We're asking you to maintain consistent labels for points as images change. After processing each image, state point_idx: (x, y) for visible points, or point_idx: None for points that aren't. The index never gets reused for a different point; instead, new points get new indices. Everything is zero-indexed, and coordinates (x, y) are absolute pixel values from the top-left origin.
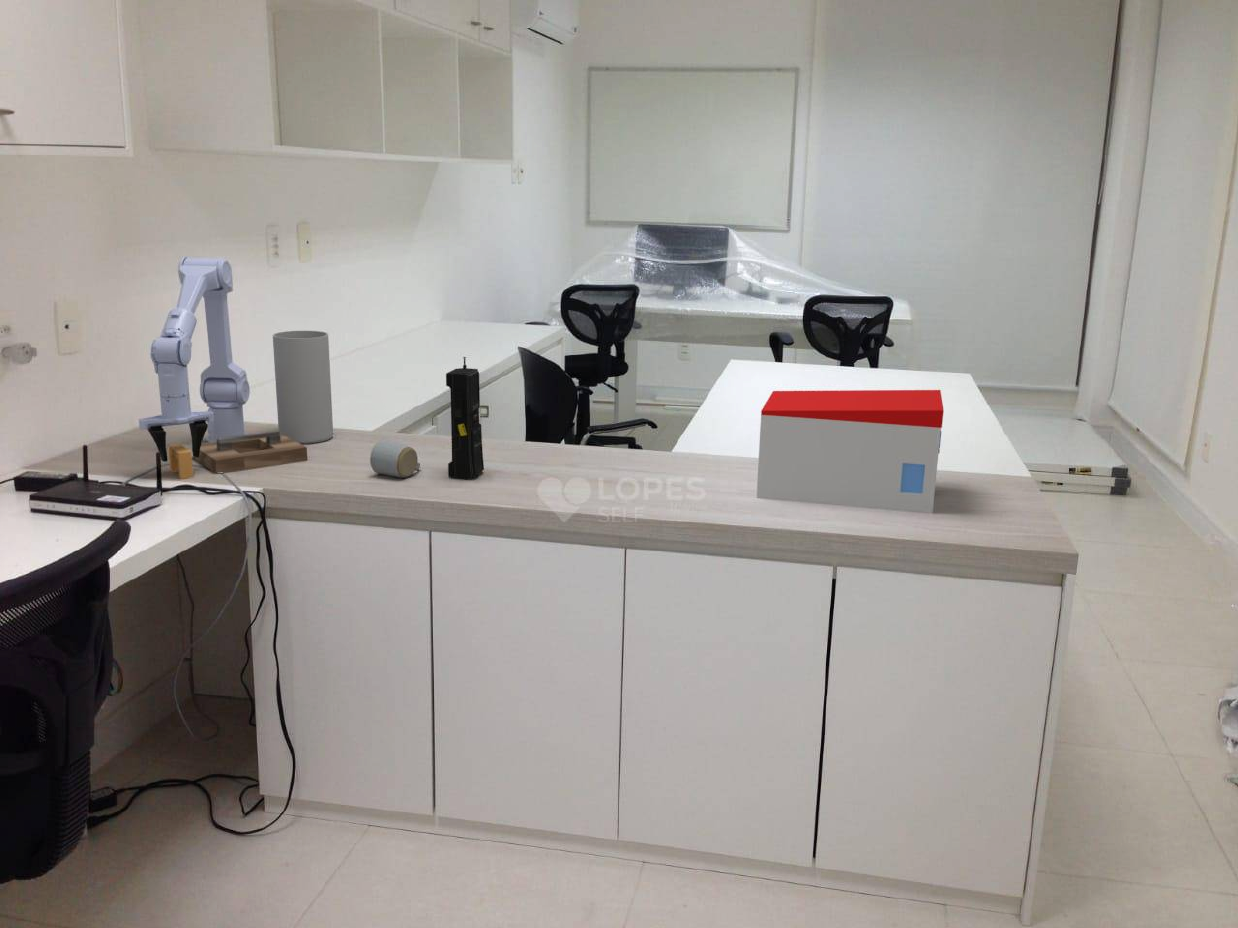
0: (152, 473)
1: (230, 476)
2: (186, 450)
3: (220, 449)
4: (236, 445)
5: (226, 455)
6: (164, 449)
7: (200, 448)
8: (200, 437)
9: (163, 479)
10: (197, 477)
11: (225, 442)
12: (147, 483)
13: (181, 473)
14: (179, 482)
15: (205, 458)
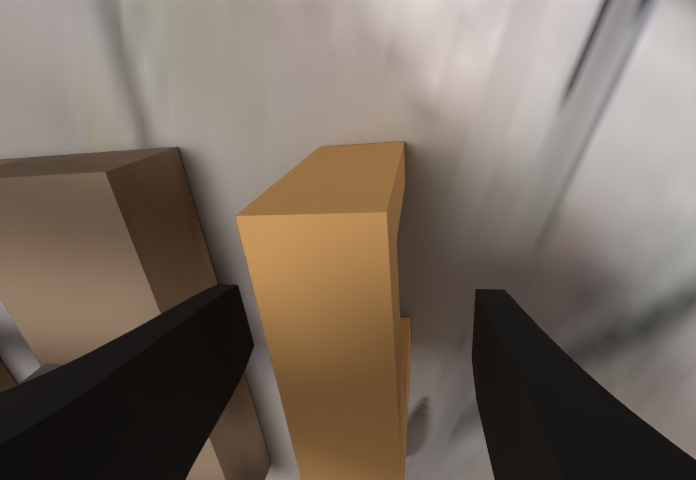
0: None
1: (91, 38)
2: (279, 296)
3: None
4: None
5: (50, 263)
6: (536, 363)
7: (209, 464)
8: (24, 395)
9: (512, 194)
10: (295, 127)
11: None
12: (664, 143)
13: (394, 148)
14: (440, 45)
15: None
